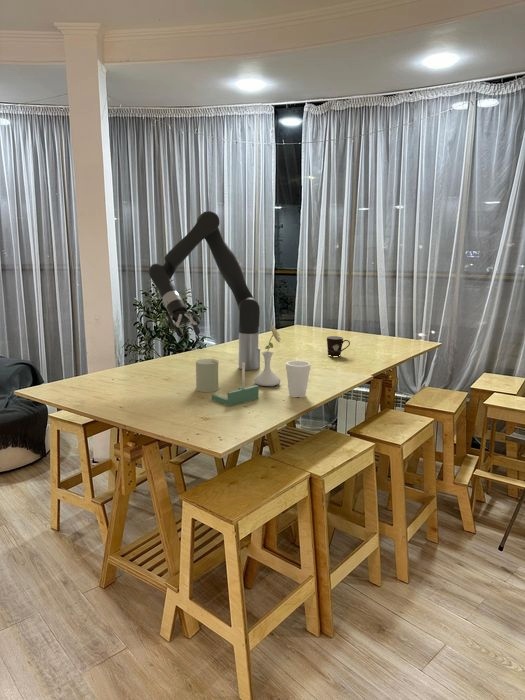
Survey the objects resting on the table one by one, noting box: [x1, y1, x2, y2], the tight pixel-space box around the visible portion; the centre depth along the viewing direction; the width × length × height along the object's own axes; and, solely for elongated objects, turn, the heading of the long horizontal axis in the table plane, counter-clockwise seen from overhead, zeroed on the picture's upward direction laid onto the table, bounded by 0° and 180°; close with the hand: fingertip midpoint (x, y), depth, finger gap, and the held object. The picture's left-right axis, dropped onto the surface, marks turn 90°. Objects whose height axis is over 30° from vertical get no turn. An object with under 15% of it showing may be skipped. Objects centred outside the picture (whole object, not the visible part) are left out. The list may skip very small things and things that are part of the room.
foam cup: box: [285, 360, 312, 398], centre depth 193 cm, size 10×9×13 cm
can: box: [195, 358, 220, 393], centre depth 201 cm, size 9×9×12 cm
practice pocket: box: [211, 363, 260, 407], centre depth 188 cm, size 11×14×15 cm
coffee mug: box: [326, 335, 351, 356], centre depth 261 cm, size 12×9×10 cm
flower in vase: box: [253, 325, 282, 387], centre depth 207 cm, size 13×11×25 cm
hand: (189, 335), depth 205 cm, fingers open, 8 cm apart
